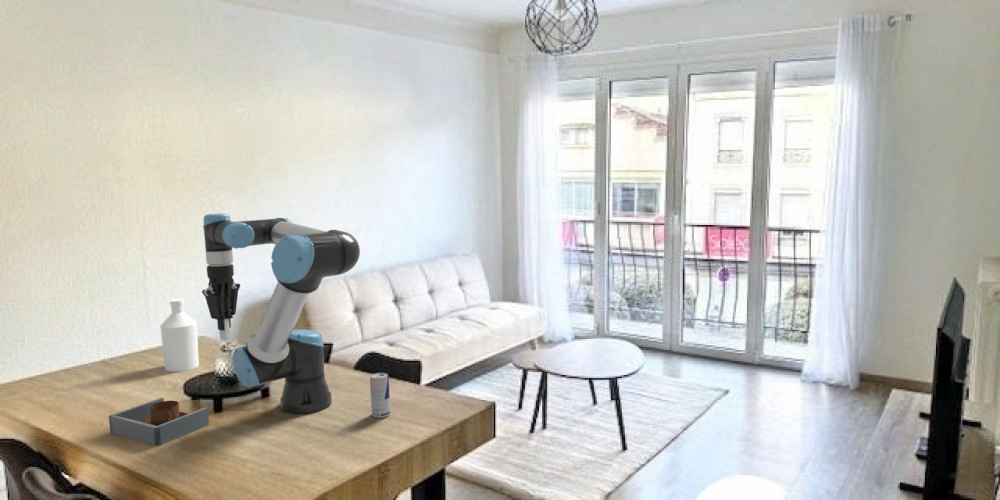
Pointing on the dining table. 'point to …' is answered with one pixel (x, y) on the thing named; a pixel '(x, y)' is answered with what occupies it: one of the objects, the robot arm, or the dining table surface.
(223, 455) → the dining table surface
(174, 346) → the bottle
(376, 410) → the energy drink
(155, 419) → the cup and saucer
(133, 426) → the box
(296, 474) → the dining table surface
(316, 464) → the dining table surface
